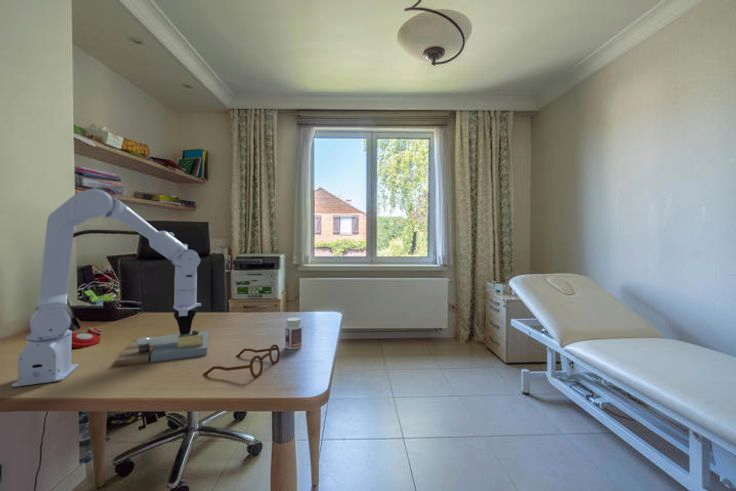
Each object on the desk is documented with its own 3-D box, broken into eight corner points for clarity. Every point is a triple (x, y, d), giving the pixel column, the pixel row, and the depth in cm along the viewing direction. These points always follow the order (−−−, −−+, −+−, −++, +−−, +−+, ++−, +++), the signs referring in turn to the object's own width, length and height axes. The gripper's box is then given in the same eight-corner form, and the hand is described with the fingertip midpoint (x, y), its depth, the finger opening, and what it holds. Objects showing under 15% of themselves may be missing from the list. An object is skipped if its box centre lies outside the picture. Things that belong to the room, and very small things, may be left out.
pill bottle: (303, 345, 95) (303, 317, 95) (298, 350, 90) (298, 321, 90) (288, 344, 95) (288, 317, 95) (282, 349, 90) (282, 320, 90)
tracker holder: (101, 342, 92) (55, 340, 86) (97, 356, 92) (50, 355, 86) (105, 324, 101) (64, 321, 95) (101, 337, 102) (59, 335, 95)
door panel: (206, 354, 85) (206, 347, 85) (150, 362, 80) (150, 354, 80) (208, 337, 101) (208, 331, 101) (161, 342, 96) (161, 335, 96)
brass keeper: (203, 345, 87) (203, 334, 87) (178, 348, 84) (178, 337, 84) (203, 341, 91) (203, 330, 91) (179, 343, 88) (179, 333, 88)
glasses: (253, 382, 70) (253, 360, 70) (202, 376, 72) (202, 355, 72) (281, 361, 82) (281, 342, 82) (237, 357, 85) (237, 338, 85)
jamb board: (148, 362, 79) (148, 351, 79) (115, 366, 76) (115, 355, 76) (160, 342, 96) (160, 333, 96) (133, 345, 93) (133, 335, 93)
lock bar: (135, 347, 81) (135, 338, 81) (138, 344, 84) (138, 335, 84) (199, 340, 87) (199, 332, 87) (199, 337, 90) (199, 329, 90)
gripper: (199, 292, 87) (199, 340, 87) (202, 286, 100) (201, 328, 100) (170, 293, 84) (169, 343, 84) (176, 287, 97) (176, 330, 97)
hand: (185, 335), depth 92 cm, fingers closed
